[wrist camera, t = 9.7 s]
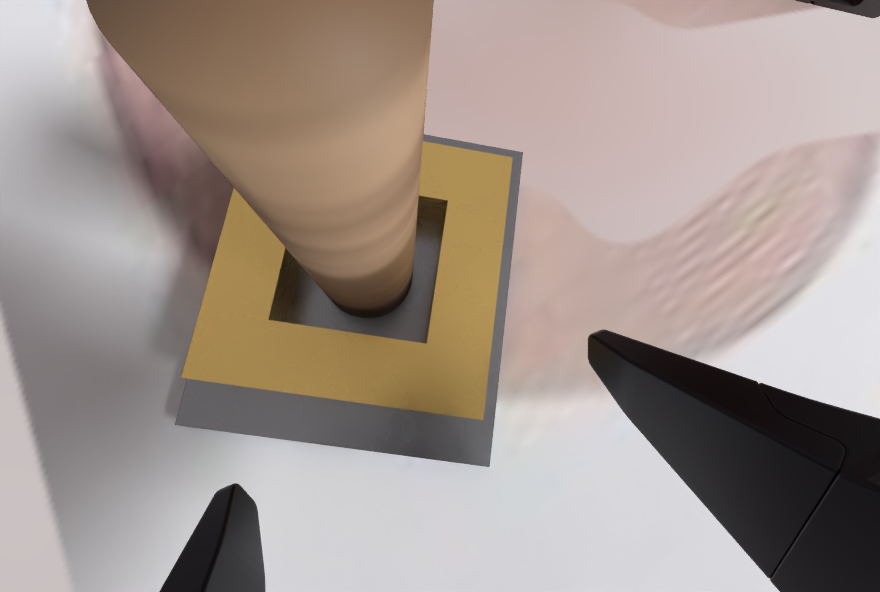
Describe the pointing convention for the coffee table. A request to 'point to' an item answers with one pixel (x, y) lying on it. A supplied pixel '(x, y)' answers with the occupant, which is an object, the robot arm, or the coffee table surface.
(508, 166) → the socket
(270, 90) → the pin
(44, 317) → the coffee table surface
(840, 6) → the phone stand
